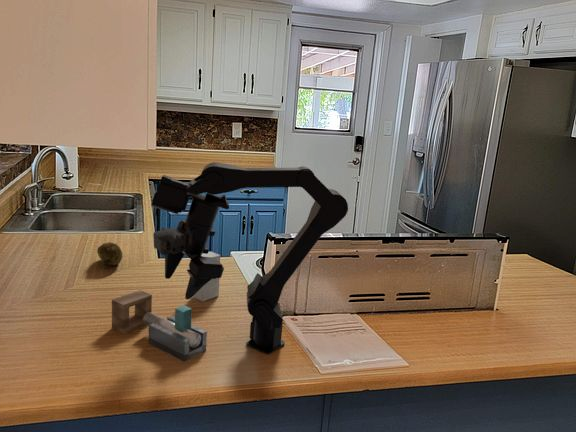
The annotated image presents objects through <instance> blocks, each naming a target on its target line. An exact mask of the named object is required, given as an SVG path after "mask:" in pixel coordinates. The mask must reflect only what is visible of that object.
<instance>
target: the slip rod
mask: <svg viewBox="0 0 576 432" xmlns="http://www.w3.org/2000/svg"><path fill="white" fill-rule="evenodd" d="M174 310H175V311H174V317H175V323H174V322H171V321H169V320H167V318H164V317H162V316H160V315H158V314H156V313H153V312H152V311H151V312H148V313H146V314H145V316H144V317H143V324H144V325H143V326H147V328H149V325H150V324H152V323H154V324H156V325H158V326H161V327H163V328H165V329H167V330H169V331H171V332H174V333H176V334H178V335H180V336H182V337H184V338H186V339H189V346H190V347H193V348H196V347H197V346H198V345H199V344H200V342H201V335H200V334H198V333H196V332H194V331H191V330H189V329H190V328H191V324H192V313H193V312H192V311H193V310H192V308H191V307H189V306H186V305H184V304H183V305H181V306H178V307H176V308H175V309H174Z"/></svg>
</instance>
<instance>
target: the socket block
mask: <svg viewBox="0 0 576 432" xmlns="http://www.w3.org/2000/svg"><path fill="white" fill-rule="evenodd" d="M152 298H153V295H152V294H151V293H149V292H146V291H144V290H141V289H140V290H137V291H134V292H131V293H128V294H125V295H122V296H119V297H116V298H112V299H111V329H113V330H115V331H117V332H119V333H121V334H122V335H123V334H126V333H128V332H130V331H134V330H136V329H139V328H140V327H143V326H145V325H144V324H143V317H144V316H145V314H146V313H148V312H151V313H152V307H153V306H152V303H153V301H152V300H153V299H152ZM132 307H134V314H133V315H131V316H130V308H132Z"/></svg>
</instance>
